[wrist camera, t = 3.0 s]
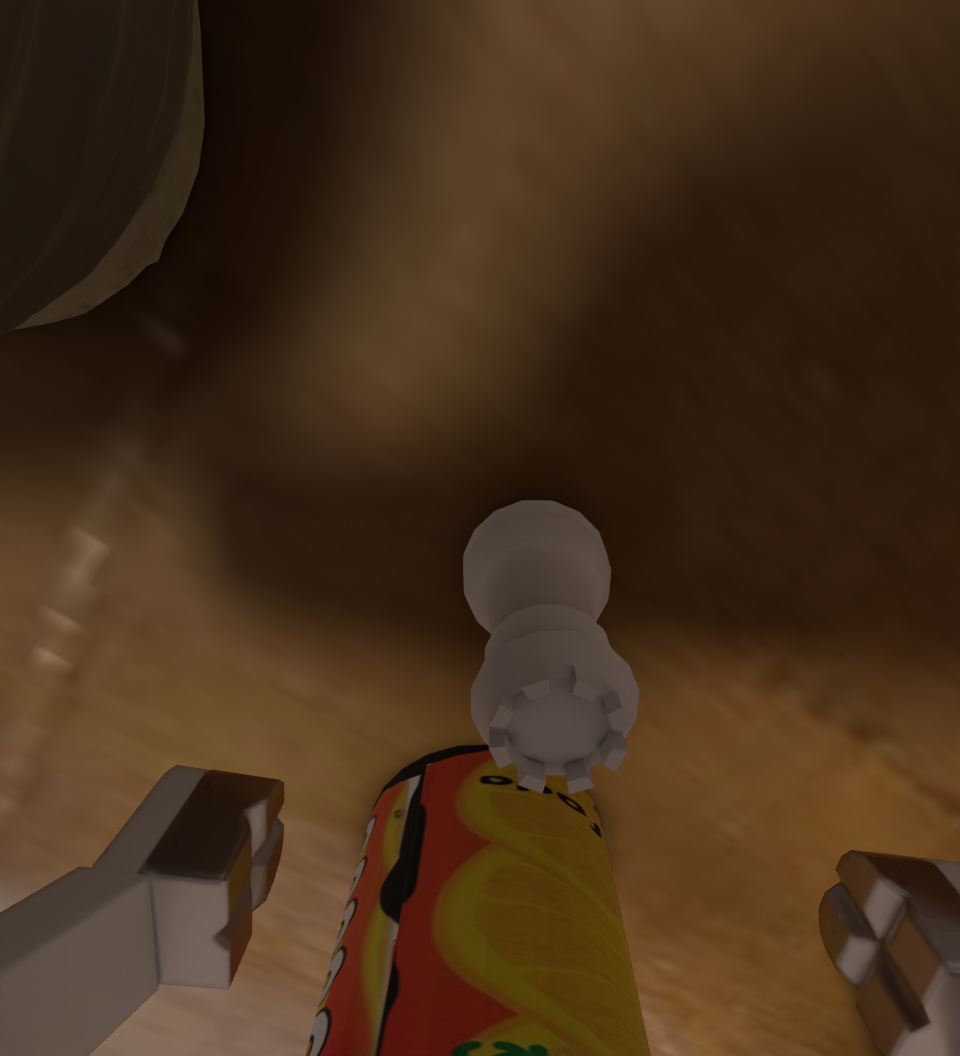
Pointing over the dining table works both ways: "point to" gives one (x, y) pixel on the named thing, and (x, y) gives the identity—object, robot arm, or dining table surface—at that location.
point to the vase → (92, 147)
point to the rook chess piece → (546, 646)
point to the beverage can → (480, 924)
